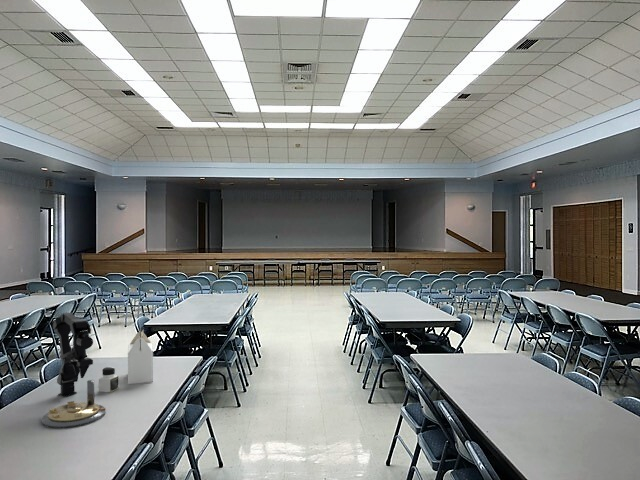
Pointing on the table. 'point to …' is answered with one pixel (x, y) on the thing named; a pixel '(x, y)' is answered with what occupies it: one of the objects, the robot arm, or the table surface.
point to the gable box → (140, 359)
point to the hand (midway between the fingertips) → (79, 376)
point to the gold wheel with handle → (76, 408)
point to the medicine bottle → (108, 380)
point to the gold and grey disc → (94, 418)
